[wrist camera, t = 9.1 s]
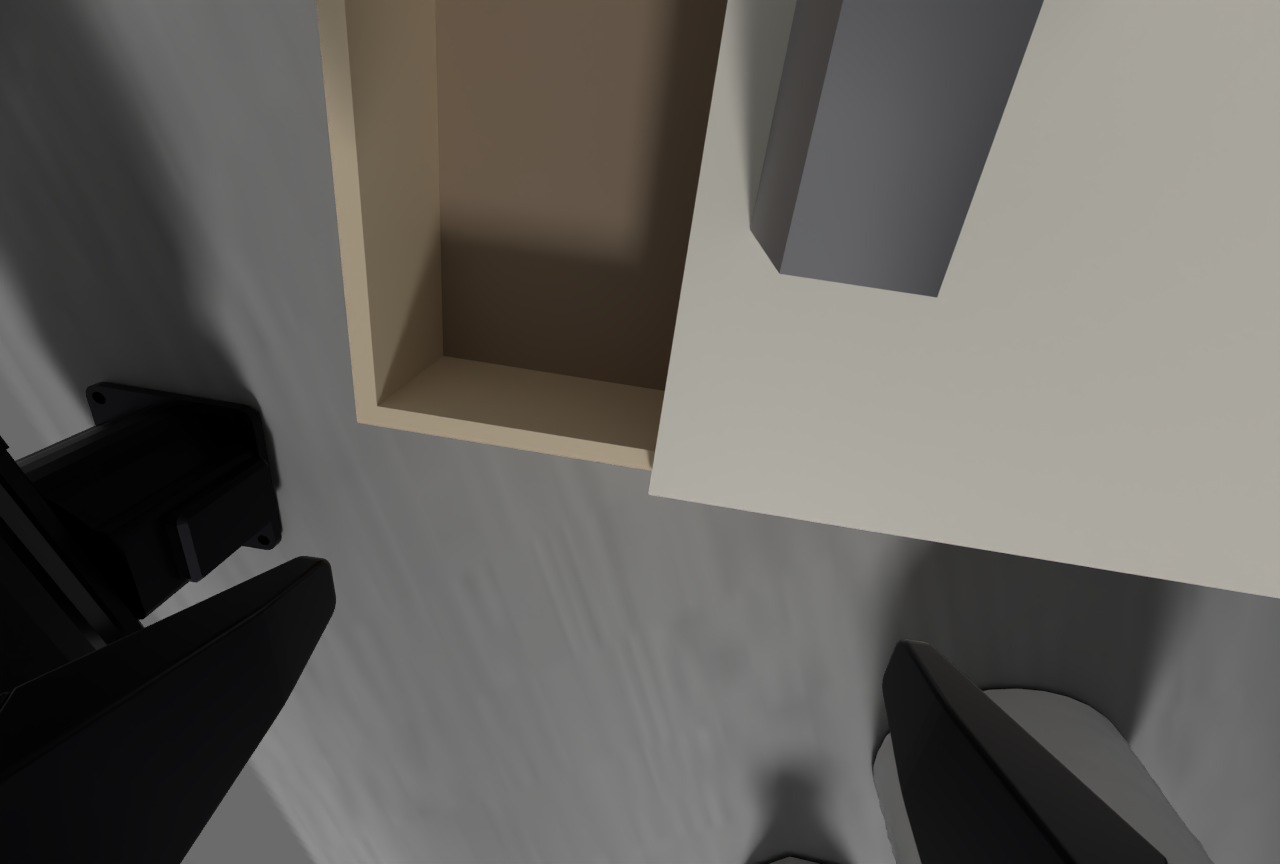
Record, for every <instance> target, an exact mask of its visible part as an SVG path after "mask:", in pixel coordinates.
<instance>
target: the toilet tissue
mask: <svg viewBox="0 0 1280 864" xmlns="http://www.w3.org/2000/svg"><path fill="white" fill-rule="evenodd" d="M983 692H984V693H985V694H986V695H987V696H988V697H989V698H991V699H992V700H993V701H994V702H995V703H996V704H997V705H998V706H999V707H1000V708H1002V709H1003V710H1004V711H1005V712H1006V713H1007V714H1008V715H1009V716H1010V717H1011V718H1013V719H1014V720H1015V721H1016V722H1017V723H1018V724H1019V725H1020V726H1021V727H1023V728H1024V729H1025V730H1026V731H1027V732H1028V733H1029V734H1030V735H1031V736H1032V737H1034V738H1035V739H1036V740H1037V741H1038V742H1039V743H1040V744H1041V745H1042V746H1043V747H1045V748H1046V749H1047V750H1048V751H1049V752H1050V753H1051V754H1052V755H1053V756H1054V757H1056V758H1057V759H1058V760H1059V761H1060V762H1061V763H1062V764H1063V765H1064V766H1066V767H1067V768H1068V769H1069V770H1070V771H1071V772H1072V773H1073V774H1074V775H1075V776H1077V777H1078V778H1079V779H1080V780H1081V781H1082V782H1083V783H1084V784H1085V785H1086V786H1088V787H1089V788H1090V789H1091V790H1092V791H1093V792H1094V793H1095V794H1096V795H1097V796H1099V797H1100V798H1101V799H1102V800H1103V801H1104V802H1105V803H1106V804H1107V805H1109V806H1110V807H1111V808H1112V809H1113V810H1114V811H1115V812H1116V813H1117V814H1118V815H1120V816H1121V817H1122V818H1123V819H1124V820H1125V821H1126V822H1127V823H1128V824H1129V825H1131V826H1132V827H1133V828H1134V829H1135V830H1136V831H1137V832H1138V833H1139V834H1140V835H1142V836H1143V837H1144V838H1145V839H1146V840H1147V841H1148V842H1149V843H1150V844H1152V845H1153V846H1154V847H1155V848H1156V849H1157V850H1158V851H1159V852H1160V853H1161V854H1163V855H1164V856H1165V857H1166V859H1167V861H1168V864H1214V863H1213V862H1212V860H1211V859H1210V858H1209V856H1208V854H1207V853H1206V851H1205V849H1204V848H1203V846H1202V844H1201V842H1200V841H1199V840H1198V839H1197V838H1196V837H1195V836H1194V835H1193V834H1192V833H1191V832H1190V830H1189V829H1188V828H1187V826H1186V825H1185V823H1184V822H1183V821H1182V819H1181V818H1180V816H1179V815H1178V814H1177V812H1176V811H1175V810H1174V808H1173V807H1172V805H1171V804H1170V803H1169V801H1168V800H1167V799H1166V797H1165V796H1164V794H1163V793H1162V791H1161V790H1160V788H1159V787H1158V785H1157V784H1156V782H1155V781H1154V780H1153V779H1152V777H1151V776H1150V774H1149V773H1148V771H1147V770H1146V768H1145V767H1144V765H1143V764H1142V763H1141V761H1140V760H1139V759H1138V757H1137V756H1136V755H1135V753H1134V752H1133V751H1132V750H1131V748H1130V746H1129V744H1128V742H1127V741H1126V740H1125V739H1124V738H1123V736H1122V735H1121V734H1120V733H1119V731H1118V730H1117V729H1116V728H1115V726H1114V725H1113V724H1112V723H1111V722H1110V721H1109V720H1108V719H1107V718H1106V717H1105V716H1103V715H1102V714H1100V713H1099V712H1097V711H1096V710H1094V709H1093V708H1091V707H1090V706H1088V705H1086V704H1084V703H1081V702H1079V701H1076V700H1074V699H1072V698H1069V697H1066V696H1062V695H1058V694H1054V693H1050V692H1046V691H1038V690H1027V689H997V690H986V691H983ZM873 772H874V784H875V787H876V791H877V795H878V798H879V804H880V809H881V812H882V814H883V817H884V820H885V826H886V830H887V836H888V839H889V841H890V844H891V847H892V853H893V855H894V857H895V860H896V864H921V861H920V857H919V854H918V850H917V847H916V844H915V840H914V837H913V833H912V830H911V826H910V823H909V819H908V816H907V812H906V809H905V805H904V801H903V797H902V793H901V788H900V784H899V779H898V774H897V768H896V763H895V757H894V751H893V746H892V740H891V735H890V733H889V734H888V735H887V736H886V737H885V739H884V741H883V743H882V746H881V747H880V749H879V751H878V753H877V756H876V759H875V763H874V766H873Z"/></svg>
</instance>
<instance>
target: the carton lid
mask: <svg viewBox="0 0 1280 864" xmlns="http://www.w3.org/2000/svg"><path fill="white" fill-rule="evenodd" d="M648 495H654V496H660V497H666V498H672V499H678V500H685V501H691V502H697V503H703V504H709V505H715V506H721V507H727V508H733V509H739V510H745V511H751V512H758V513H764V514H770V515H776V516H782V517H788V518H794V519H800V520H806V521H812V522H818V523H824V524H830V525H837V526H843V527H849V528H855V529H861V530H867V531H873V532H879V533H885V534H891V535H897V536H903V537H910V538H916V539H922V540H928V541H934V542H940V543H946V544H952V545H958V546H964V547H970V548H976V549H982V550H989V551H995V552H1001V553H1007V554H1013V555H1019V556H1025V557H1031V558H1037V559H1043V560H1049V561H1055V562H1061V563H1068V564H1074V565H1080V566H1086V567H1092V568H1098V569H1104V570H1110V571H1116V572H1122V573H1128V574H1134V575H1141V576H1147V577H1153V578H1159V579H1165V580H1171V581H1177V582H1183V583H1189V584H1195V585H1201V586H1207V587H1213V588H1220V589H1226V590H1232V591H1238V592H1244V593H1250V594H1256V595H1262V596H1268V597H1274V598H1280V0H728V2H727V8H726V15H725V21H724V27H723V33H722V39H721V46H720V52H719V58H718V64H717V70H716V77H715V83H714V89H713V95H712V102H711V108H710V114H709V120H708V126H707V133H706V139H705V145H704V151H703V157H702V164H701V170H700V176H699V182H698V189H697V195H696V201H695V207H694V213H693V220H692V226H691V232H690V238H689V244H688V251H687V257H686V263H685V269H684V276H683V282H682V288H681V294H680V300H679V307H678V313H677V319H676V325H675V331H674V338H673V344H672V350H671V356H670V363H669V369H668V375H667V381H666V387H665V394H664V400H663V406H662V412H661V418H660V425H659V431H658V437H657V443H656V450H655V456H654V462H653V468H652V474H651V481H650V487H649V493H648Z"/></svg>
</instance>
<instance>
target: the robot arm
mask: <svg viewBox="0 0 1280 864" xmlns="http://www.w3.org/2000/svg"><path fill="white" fill-rule="evenodd" d="M86 397H87V400H88V403H89V406H90V409H91V412H92V416H93V419H94V422H95V425H96V426H94V427H91V428H89V429H87V430H85V431H82V432H80V433H78V434H75V435H73V436H71V437H69V438H66V439H64V440H62V441H59V442H57V443H55V444H53V445H50V446H48V447H46V448H44V449H41V450H39V451H37V452H35V453H32V454H30V455H28V456H25V457H23V458H21V459H19V460H16V461H14V459H13V458H12V457H11V455H10V454H9V453H8V452H7V450H6V449H8V448H9V446H8V445H7V444H6V443H5V441H4V440H3V439H2V437H1V436H0V864H180V863H181V862H182V860H183V859H184V857H185V856H186V854H187V853H188V851H189V850H190V848H191V847H192V845H193V844H194V842H195V840H196V839H197V838H198V836H199V835H200V833H201V831H202V830H203V828H204V827H205V825H206V824H207V822H208V821H209V819H210V818H211V816H212V815H213V813H214V812H215V810H216V809H217V807H218V806H219V804H220V803H221V801H222V800H223V798H224V796H225V795H226V793H227V792H228V790H229V789H230V787H231V786H232V784H233V783H234V781H235V780H236V778H237V777H238V775H239V774H240V772H241V771H242V769H243V768H244V766H245V764H246V763H247V762H248V760H249V758H250V757H251V755H252V754H253V752H254V751H255V749H256V748H257V746H258V745H259V743H260V742H261V740H262V739H263V737H264V736H265V734H266V733H267V731H268V730H269V728H270V727H271V725H272V724H273V722H274V720H275V719H276V717H277V716H278V714H279V713H280V711H281V709H282V708H283V706H284V705H285V703H286V701H287V699H288V698H289V696H290V694H291V692H292V691H293V689H294V687H295V685H296V683H297V681H298V679H299V677H300V675H301V674H302V672H303V670H304V668H305V666H306V664H307V662H308V660H309V658H310V656H311V655H312V653H313V651H314V649H315V647H316V645H317V643H318V641H319V639H320V637H321V636H322V634H323V632H324V630H325V628H326V626H327V624H328V622H329V620H330V618H331V616H332V614H333V612H334V609H335V605H336V595H335V589H334V583H333V576H332V570H331V566H330V563H329V562H328V561H327V560H326V559H323V558H317V557H309V556H300V557H297V558H294V559H292V560H290V561H288V562H286V563H284V564H281V565H279V566H277V567H275V568H273V569H271V570H268V571H266V572H264V573H262V574H260V575H258V576H255V577H253V578H251V579H249V580H247V581H245V582H242V583H240V584H238V585H236V586H234V587H232V588H230V589H227V590H225V591H223V592H221V593H219V594H217V595H214V596H212V597H210V598H208V599H206V600H204V601H201V602H199V603H197V604H195V605H193V606H191V607H189V608H186V609H184V610H182V611H180V612H178V613H176V614H173V615H171V616H169V617H167V618H165V619H163V620H160V621H158V622H156V623H154V624H152V625H150V626H147V627H144V626H143V625H142V624H141V622H140V621H139V620H140V619H144V618H145V617H147V616H148V615H149V614H150V613H151V612H153V611H154V610H155V609H156V608H158V607H159V606H160V605H161V604H162V603H164V602H165V601H166V600H167V599H168V598H170V597H171V596H172V595H173V594H175V593H176V592H177V591H178V590H179V589H181V588H182V587H183V586H184V585H185V584H187V583H188V582H189V581H191V582H198V581H200V580H201V579H203V578H204V577H205V576H206V575H208V574H209V573H210V572H211V571H212V570H213V569H215V568H216V567H217V566H218V565H219V564H221V563H222V562H223V561H224V560H225V559H227V558H228V557H229V556H230V555H231V554H233V553H234V552H235V551H236V550H237V549H238V548H240V547H241V546H247V547H252V548H258V549H264V550H270V549H273V548H274V547H275V546H276V545H277V544H278V543H279V542H280V541H281V537H282V536H281V530H280V525H279V519H278V514H277V508H276V503H275V497H274V492H273V486H272V480H271V475H270V469H269V464H268V458H267V453H266V447H265V442H264V436H263V431H262V425H261V419H260V417H259V414H258V413H257V412H256V410H255V409H253V408H252V407H250V406H247V405H244V404H237V403H231V402H225V401H219V400H213V399H207V398H201V397H195V396H188V395H182V394H176V393H170V392H164V391H158V390H152V389H145V388H139V387H133V386H127V385H121V384H115V383H109V382H99V383H97V384H94V385H91V386H89V387H88V388H87V389H86ZM241 416H243V417H244V418H245V420H246V422H245V421H244V420H243V419H242V417H241ZM138 619H139V620H138ZM882 689H883V696H884V702H885V707H886V713H887V718H888V724H889V729H890V735H891V740H892V746H893V751H894V757H895V763H896V768H897V774H898V779H899V784H900V788H901V793H902V797H903V801H904V805H905V809H906V812H907V816H908V819H909V823H910V826H911V830H912V833H913V837H914V840H915V844H916V847H917V850H918V854H919V857H920V861H921V864H1168V861H1167V859H1166V857H1165V856H1164V855H1163V854H1161V853H1160V852H1159V851H1158V850H1157V849H1156V848H1155V847H1154V846H1153V845H1152V844H1150V843H1149V842H1148V841H1147V840H1146V839H1145V838H1144V837H1143V836H1142V835H1140V834H1139V833H1138V832H1137V831H1136V830H1135V829H1134V828H1133V827H1132V826H1131V825H1129V824H1128V823H1127V822H1126V821H1125V820H1124V819H1123V818H1122V817H1121V816H1120V815H1118V814H1117V813H1116V812H1115V811H1114V810H1113V809H1112V808H1111V807H1110V806H1109V805H1107V804H1106V803H1105V802H1104V801H1103V800H1102V799H1101V798H1100V797H1099V796H1097V795H1096V794H1095V793H1094V792H1093V791H1092V790H1091V789H1090V788H1089V787H1088V786H1086V785H1085V784H1084V783H1083V782H1082V781H1081V780H1080V779H1079V778H1078V777H1077V776H1075V775H1074V774H1073V773H1072V772H1071V771H1070V770H1069V769H1068V768H1067V767H1066V766H1064V765H1063V764H1062V763H1061V762H1060V761H1059V760H1058V759H1057V758H1056V757H1054V756H1053V755H1052V754H1051V753H1050V752H1049V751H1048V750H1047V749H1046V748H1045V747H1043V746H1042V745H1041V744H1040V743H1039V742H1038V741H1037V740H1036V739H1035V738H1034V737H1032V736H1031V735H1030V734H1029V733H1028V732H1027V731H1026V730H1025V729H1024V728H1023V727H1021V726H1020V725H1019V724H1018V723H1017V722H1016V721H1015V720H1014V719H1013V718H1011V717H1010V716H1009V715H1008V714H1007V713H1006V712H1005V711H1004V710H1003V709H1002V708H1000V707H999V706H998V705H997V704H996V703H995V702H994V701H993V700H992V699H991V698H989V697H988V696H987V695H986V694H985V693H984V692H983V691H982V690H981V689H980V688H978V687H977V686H976V685H975V684H974V683H973V682H972V681H971V680H970V679H968V678H967V677H966V676H965V675H964V674H963V673H962V672H961V671H960V670H959V669H957V668H956V667H955V666H954V665H953V664H952V663H951V662H950V661H949V660H948V659H946V658H945V657H944V656H943V655H942V654H941V653H940V652H939V651H938V650H937V649H935V648H934V647H933V646H932V645H931V644H929V643H927V642H924V641H917V640H909V639H902V640H900V641H899V642H898V643H897V644H896V646H895V648H894V651H893V653H892V656H891V658H890V661H889V663H888V666H887V668H886V671H885V673H884V676H883V683H882Z"/></svg>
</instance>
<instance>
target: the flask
mask: <svg viewBox="0 0 1280 864" xmlns="http://www.w3.org/2000/svg"><path fill="white" fill-rule="evenodd" d="M770 864H819V863H815V862H811V861H806V860H802V859H798V858H794V857H787V858H784V859H782V860H779V861H776V862H773V863H770Z"/></svg>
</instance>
